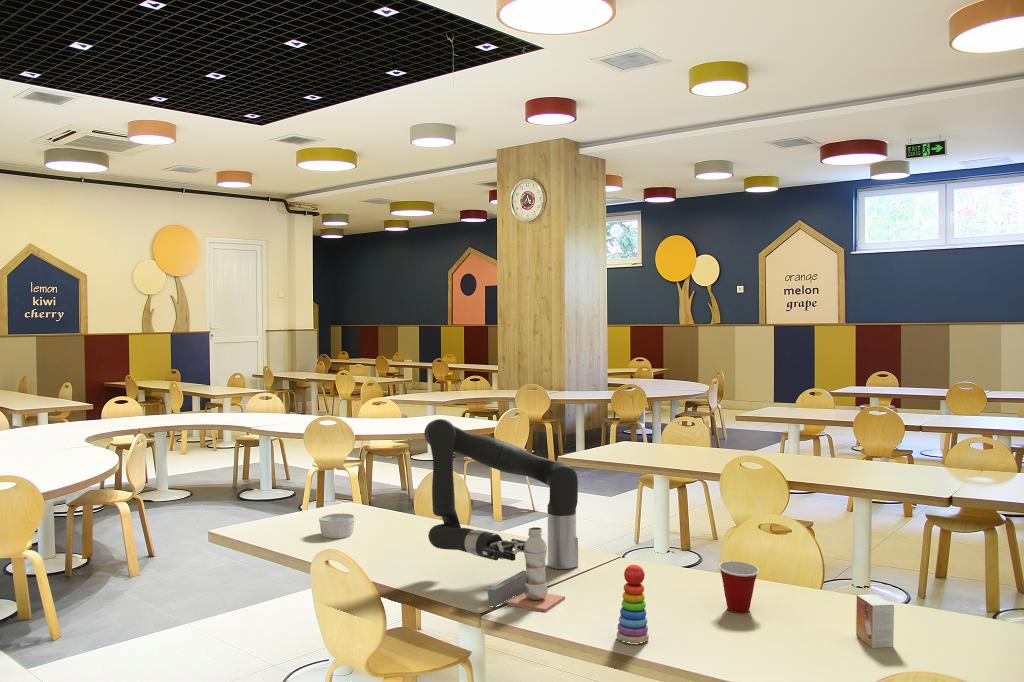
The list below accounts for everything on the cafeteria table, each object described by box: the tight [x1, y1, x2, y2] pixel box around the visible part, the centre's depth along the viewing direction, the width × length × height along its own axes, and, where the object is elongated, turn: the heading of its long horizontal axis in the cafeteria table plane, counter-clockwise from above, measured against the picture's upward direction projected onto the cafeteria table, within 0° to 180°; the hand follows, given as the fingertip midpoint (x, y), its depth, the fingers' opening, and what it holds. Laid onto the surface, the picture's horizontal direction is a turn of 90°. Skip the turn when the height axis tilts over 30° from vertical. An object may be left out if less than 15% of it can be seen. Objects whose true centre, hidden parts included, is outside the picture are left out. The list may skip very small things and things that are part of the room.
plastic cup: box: [718, 560, 760, 614], centre depth 230 cm, size 11×11×12 cm
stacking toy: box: [616, 564, 650, 643], centre depth 209 cm, size 8×8×19 cm
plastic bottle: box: [523, 526, 549, 600], centre depth 238 cm, size 6×7×20 cm
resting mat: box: [507, 591, 566, 613], centre depth 238 cm, size 12×12×1 cm
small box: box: [855, 594, 895, 649], centre depth 207 cm, size 8×6×10 cm
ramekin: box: [318, 512, 356, 540], centre depth 314 cm, size 13×13×7 cm
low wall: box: [487, 569, 526, 608], centre depth 242 cm, size 20×2×5 cm, turn 150°
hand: (524, 553), depth 241 cm, fingers open, 8 cm apart
